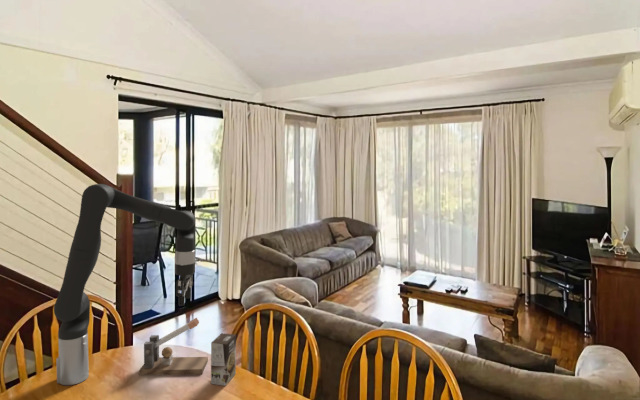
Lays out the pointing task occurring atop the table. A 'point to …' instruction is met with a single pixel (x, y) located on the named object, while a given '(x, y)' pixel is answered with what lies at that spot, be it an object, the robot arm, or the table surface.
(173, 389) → the table surface
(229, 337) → the coffee box
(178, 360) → the press base
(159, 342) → the lever
